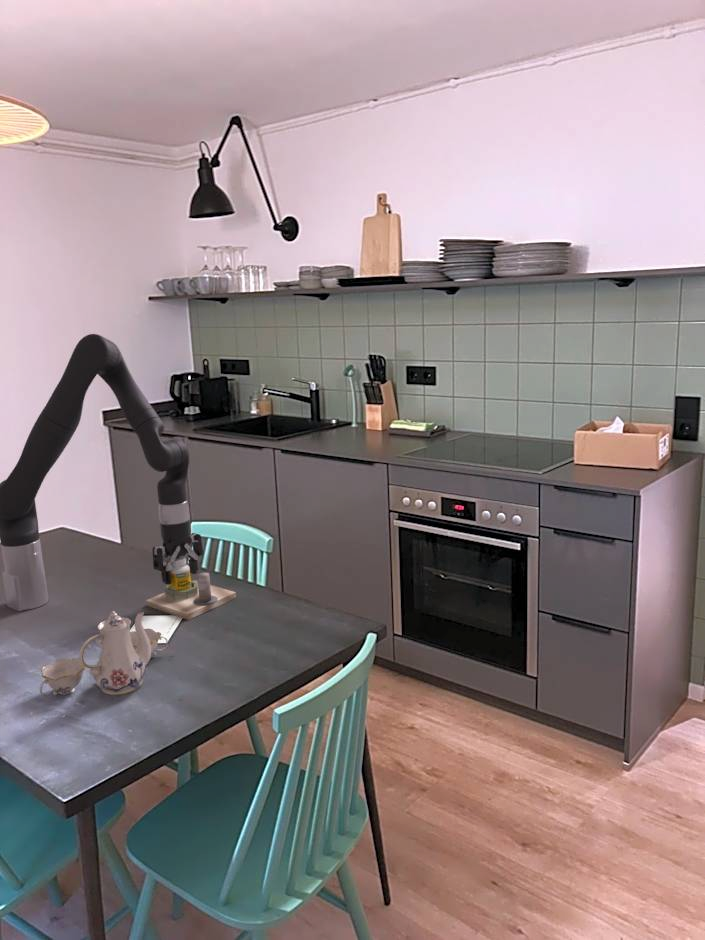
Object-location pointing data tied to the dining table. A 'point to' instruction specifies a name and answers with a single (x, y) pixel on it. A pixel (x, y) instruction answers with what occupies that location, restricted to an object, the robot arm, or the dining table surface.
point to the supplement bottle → (180, 575)
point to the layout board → (191, 598)
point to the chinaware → (109, 659)
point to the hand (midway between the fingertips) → (180, 578)
